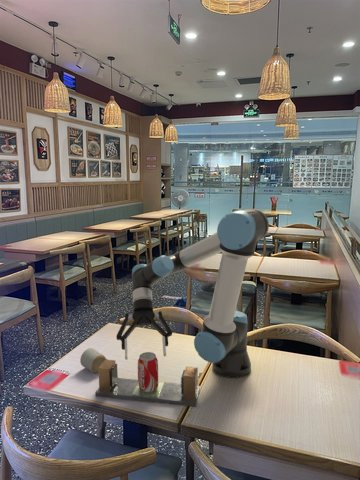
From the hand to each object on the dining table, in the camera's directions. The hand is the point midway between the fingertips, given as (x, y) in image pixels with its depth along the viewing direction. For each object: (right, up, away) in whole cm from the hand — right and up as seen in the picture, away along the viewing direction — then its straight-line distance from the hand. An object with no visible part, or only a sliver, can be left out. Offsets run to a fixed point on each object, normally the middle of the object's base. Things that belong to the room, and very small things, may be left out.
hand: (145, 356), depth 124 cm
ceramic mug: (-21, -10, +17) cm, 29 cm away
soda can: (+1, -11, -1) cm, 11 cm away
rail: (+1, -12, -1) cm, 12 cm away
